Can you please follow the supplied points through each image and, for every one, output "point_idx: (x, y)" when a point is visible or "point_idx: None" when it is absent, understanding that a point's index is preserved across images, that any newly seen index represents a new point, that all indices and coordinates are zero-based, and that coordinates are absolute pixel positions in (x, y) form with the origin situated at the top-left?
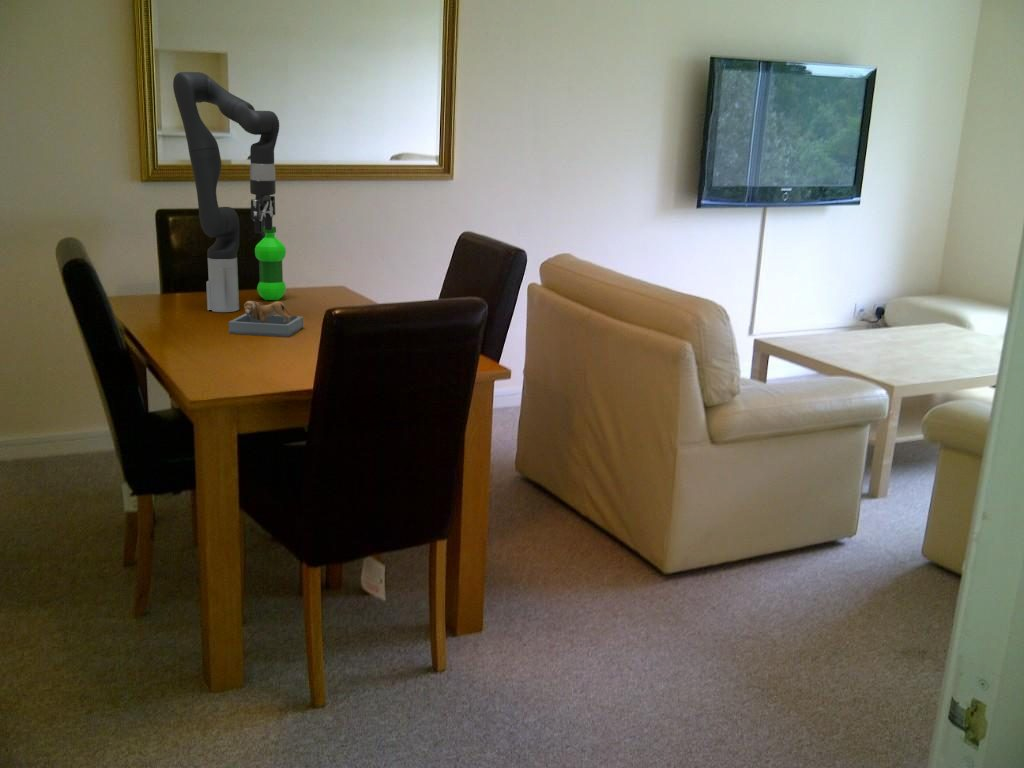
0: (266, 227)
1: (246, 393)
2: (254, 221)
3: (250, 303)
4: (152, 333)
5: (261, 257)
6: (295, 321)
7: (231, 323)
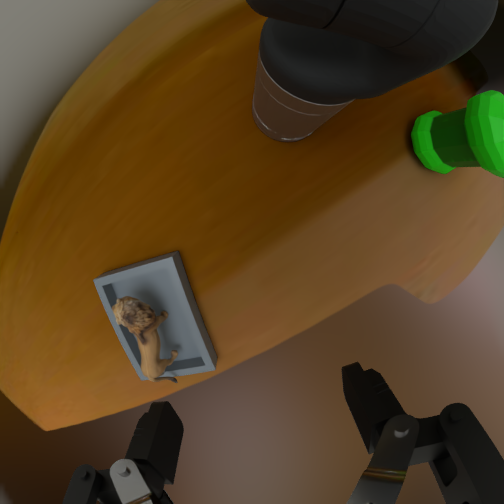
0: (347, 381)
1: (13, 400)
2: (132, 456)
3: (116, 321)
4: (47, 160)
5: (466, 122)
6: (174, 376)
7: (96, 284)
